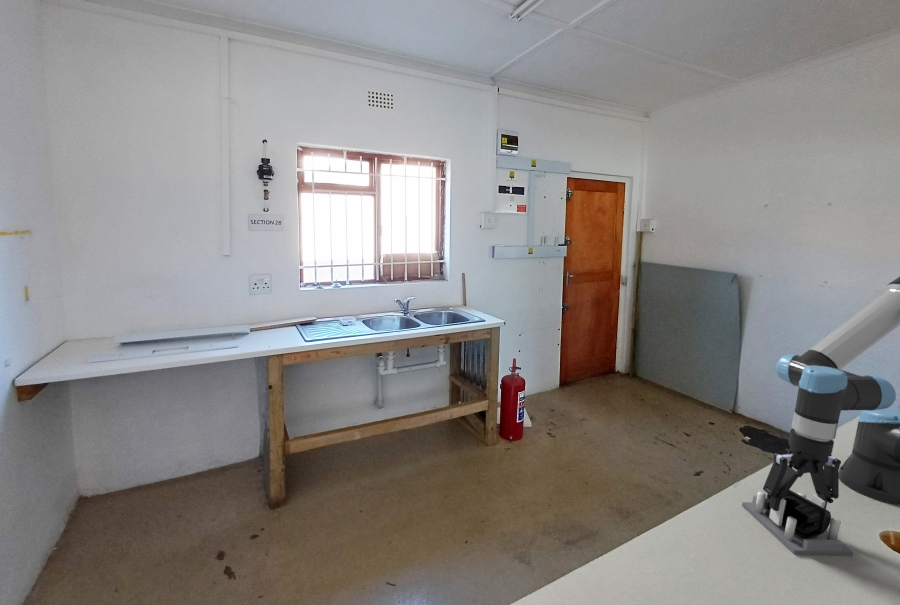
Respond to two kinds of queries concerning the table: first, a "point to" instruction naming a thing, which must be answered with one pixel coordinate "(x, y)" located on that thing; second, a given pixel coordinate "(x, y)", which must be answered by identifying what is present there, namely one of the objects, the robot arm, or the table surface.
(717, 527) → the table surface
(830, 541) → the tray
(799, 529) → the end cap
